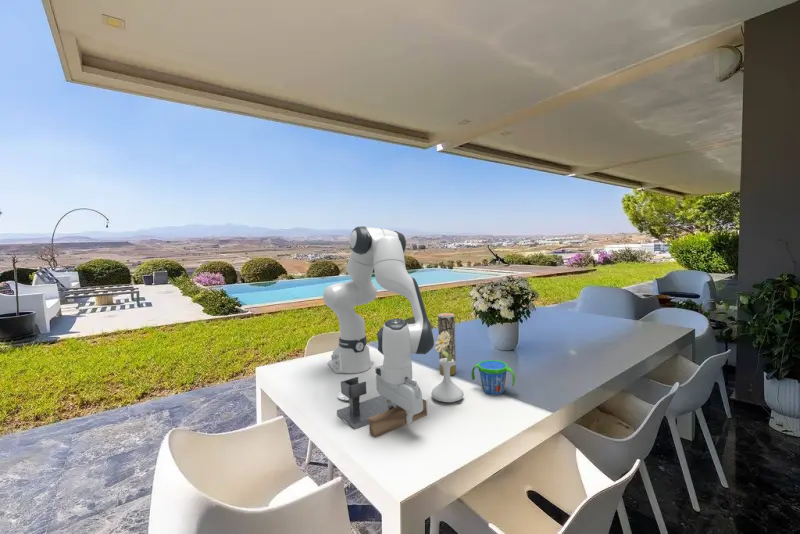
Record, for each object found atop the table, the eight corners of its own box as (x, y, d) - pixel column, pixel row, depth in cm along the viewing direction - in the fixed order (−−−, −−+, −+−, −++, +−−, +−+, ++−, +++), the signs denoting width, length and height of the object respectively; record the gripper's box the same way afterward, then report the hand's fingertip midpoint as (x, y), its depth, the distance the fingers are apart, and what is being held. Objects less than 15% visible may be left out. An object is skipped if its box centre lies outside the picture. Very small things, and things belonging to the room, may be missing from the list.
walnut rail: (369, 434, 107) (369, 417, 106) (420, 412, 119) (420, 397, 118) (375, 438, 104) (374, 421, 104) (426, 415, 116) (426, 400, 116)
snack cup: (467, 392, 132) (466, 365, 132) (478, 382, 141) (478, 357, 140) (509, 402, 123) (509, 373, 123) (519, 390, 132) (518, 363, 131)
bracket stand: (336, 414, 119) (335, 379, 118) (398, 393, 133) (397, 361, 133) (354, 429, 109) (352, 390, 108) (419, 405, 124) (417, 370, 123)
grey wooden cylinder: (455, 376, 148) (454, 316, 146) (439, 376, 149) (437, 316, 147) (456, 370, 154) (454, 312, 153) (440, 370, 156) (438, 312, 154)
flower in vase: (430, 391, 134) (428, 325, 132) (461, 391, 134) (459, 324, 132) (432, 408, 121) (430, 334, 119) (466, 407, 121) (465, 333, 119)
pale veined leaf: (353, 388, 139) (353, 382, 139) (366, 402, 128) (365, 395, 128) (334, 394, 135) (333, 388, 135) (344, 409, 125) (344, 402, 124)
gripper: (427, 380, 104) (429, 427, 105) (388, 362, 120) (389, 402, 121) (410, 386, 100) (411, 434, 101) (371, 366, 117) (373, 408, 118)
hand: (399, 416), depth 111 cm, fingers open, 8 cm apart
